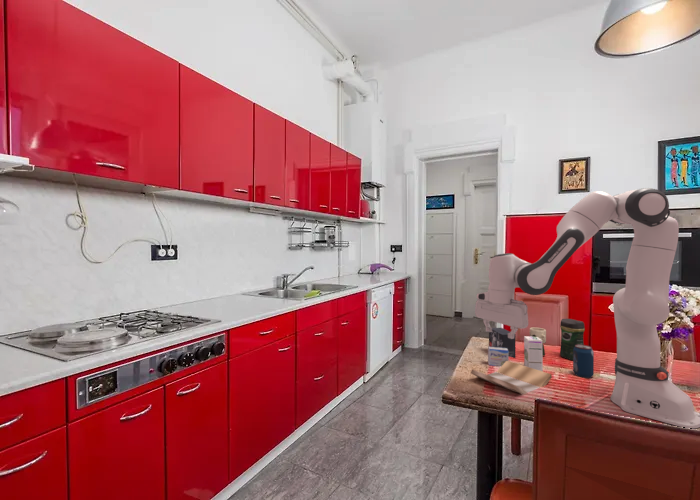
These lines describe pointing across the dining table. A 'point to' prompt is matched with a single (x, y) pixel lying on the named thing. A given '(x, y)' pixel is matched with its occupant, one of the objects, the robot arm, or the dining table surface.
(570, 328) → the coffee jar
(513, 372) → the oak plank
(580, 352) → the soda can
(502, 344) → the small box
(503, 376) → the grey plank
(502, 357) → the medicine box
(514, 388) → the birch plank
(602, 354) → the dining table surface
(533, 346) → the syrup box
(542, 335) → the character mug
